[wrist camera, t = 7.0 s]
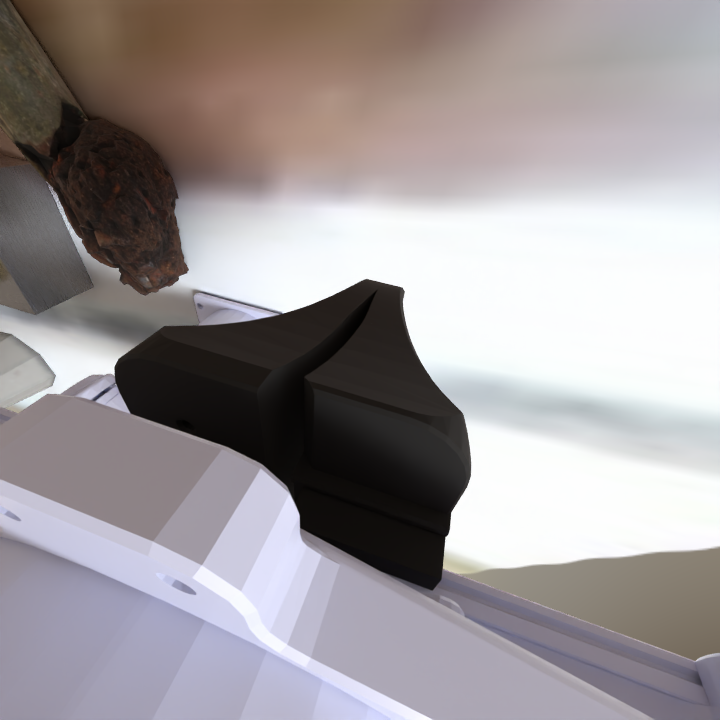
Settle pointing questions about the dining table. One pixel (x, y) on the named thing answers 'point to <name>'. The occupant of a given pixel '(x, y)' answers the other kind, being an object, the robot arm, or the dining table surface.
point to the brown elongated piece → (90, 166)
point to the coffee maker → (21, 371)
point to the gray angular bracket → (34, 243)
